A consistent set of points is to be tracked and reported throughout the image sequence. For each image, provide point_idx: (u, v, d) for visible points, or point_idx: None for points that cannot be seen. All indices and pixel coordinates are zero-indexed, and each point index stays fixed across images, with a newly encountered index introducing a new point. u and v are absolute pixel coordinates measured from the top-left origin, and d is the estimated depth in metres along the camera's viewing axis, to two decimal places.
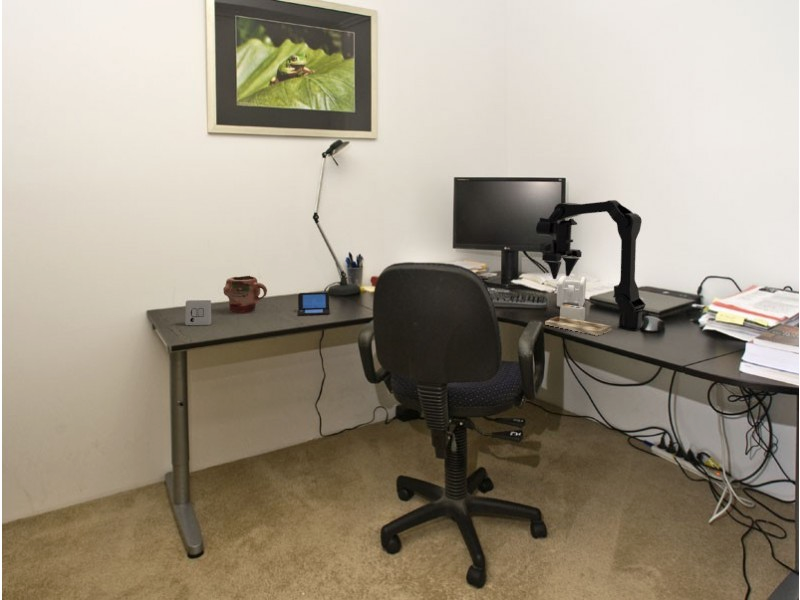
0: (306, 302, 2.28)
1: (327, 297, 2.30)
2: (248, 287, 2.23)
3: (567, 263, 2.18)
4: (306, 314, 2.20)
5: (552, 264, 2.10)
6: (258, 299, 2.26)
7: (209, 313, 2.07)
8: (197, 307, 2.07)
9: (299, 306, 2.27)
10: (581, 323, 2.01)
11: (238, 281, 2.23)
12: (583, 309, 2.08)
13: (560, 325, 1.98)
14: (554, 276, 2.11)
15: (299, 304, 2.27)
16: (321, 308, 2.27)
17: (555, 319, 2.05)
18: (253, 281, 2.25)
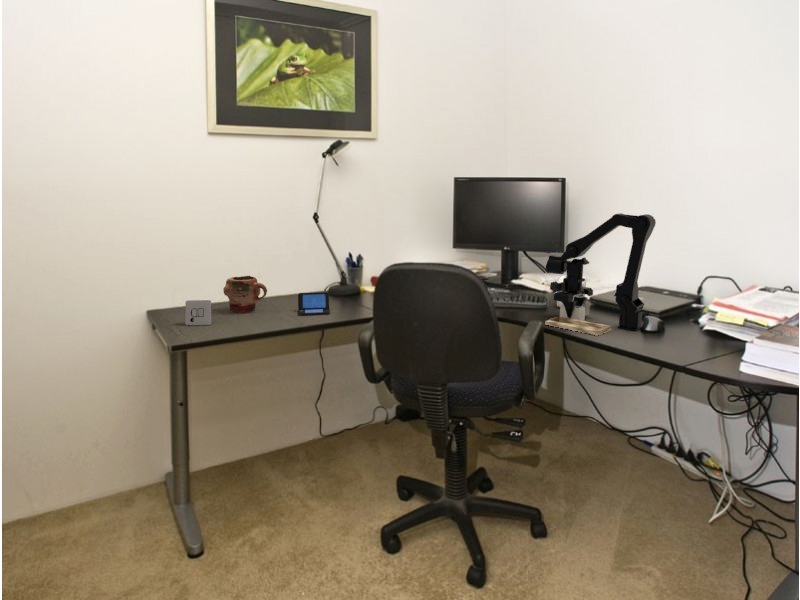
0: (306, 302, 2.28)
1: (327, 296, 2.30)
2: (248, 287, 2.23)
3: None
4: (306, 314, 2.21)
5: (567, 303, 2.07)
6: (258, 299, 2.26)
7: (209, 313, 2.07)
8: (197, 307, 2.07)
9: (299, 306, 2.27)
10: (581, 323, 2.01)
11: (238, 281, 2.23)
12: (583, 309, 2.07)
13: (560, 325, 1.98)
14: (569, 315, 2.08)
15: (299, 304, 2.27)
16: (321, 308, 2.28)
17: (555, 319, 2.05)
18: (253, 281, 2.25)
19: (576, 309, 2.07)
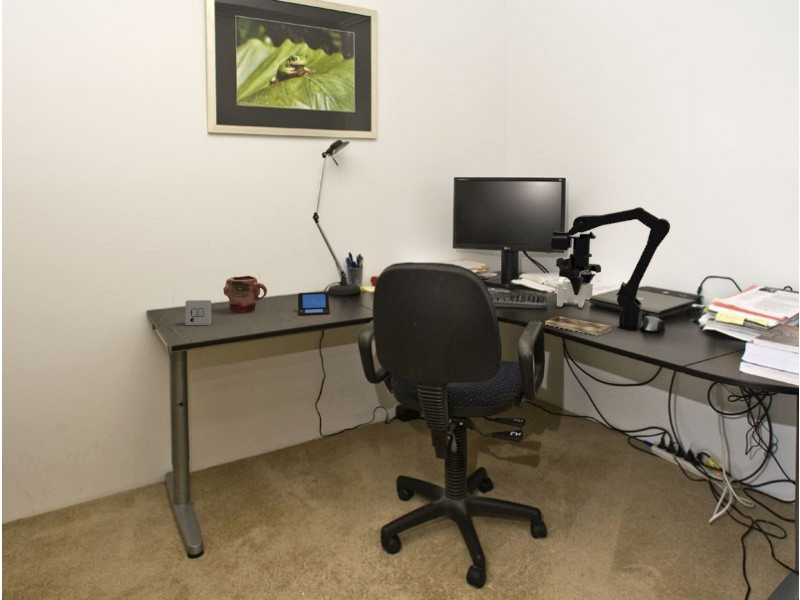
0: (306, 302, 2.28)
1: (327, 296, 2.30)
2: (248, 287, 2.23)
3: (582, 279, 2.04)
4: (306, 314, 2.21)
5: (573, 279, 2.00)
6: (258, 299, 2.26)
7: (209, 313, 2.07)
8: (197, 307, 2.07)
9: (299, 306, 2.27)
10: (581, 323, 2.01)
11: (238, 281, 2.23)
12: (590, 285, 2.00)
13: (560, 325, 1.98)
14: (575, 292, 2.01)
15: (299, 304, 2.27)
16: (321, 308, 2.28)
17: (555, 319, 2.05)
18: (253, 281, 2.25)
19: (583, 286, 1.99)
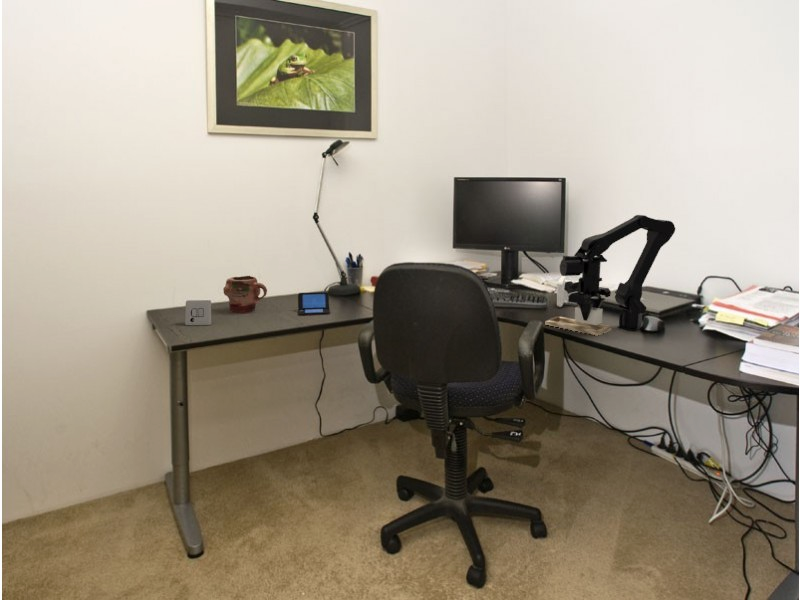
0: (306, 302, 2.28)
1: (327, 296, 2.30)
2: (248, 287, 2.23)
3: None
4: (306, 314, 2.21)
5: (583, 304, 1.92)
6: (258, 299, 2.26)
7: (209, 313, 2.07)
8: (197, 307, 2.07)
9: (299, 306, 2.27)
10: (581, 323, 2.01)
11: (238, 281, 2.23)
12: (600, 311, 1.92)
13: (560, 325, 1.98)
14: (585, 317, 1.93)
15: (299, 304, 2.28)
16: (321, 308, 2.28)
17: (555, 319, 2.05)
18: (253, 281, 2.25)
19: (593, 311, 1.91)
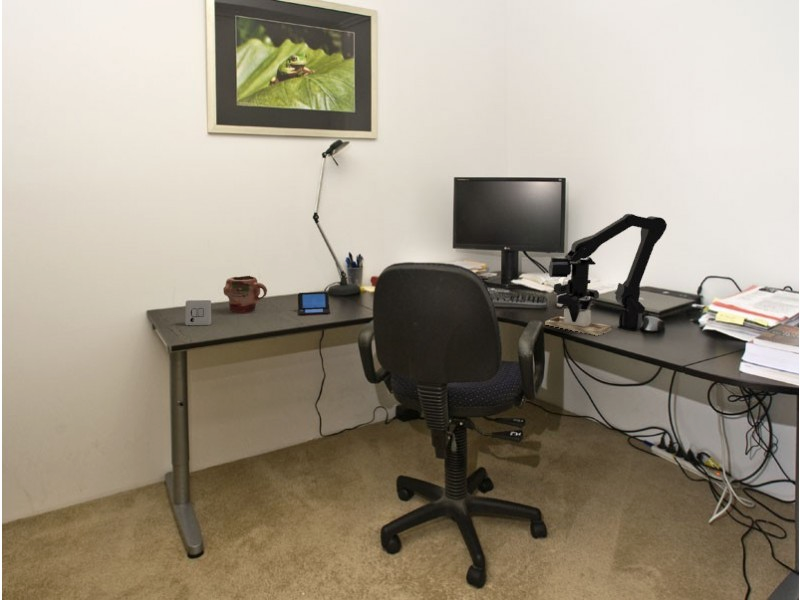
0: (306, 302, 2.28)
1: (327, 296, 2.30)
2: (248, 287, 2.23)
3: None
4: (307, 314, 2.21)
5: (571, 306, 1.95)
6: (258, 299, 2.26)
7: (209, 313, 2.07)
8: (197, 307, 2.07)
9: (299, 306, 2.27)
10: None
11: (238, 281, 2.23)
12: (588, 312, 1.95)
13: (560, 325, 1.98)
14: (573, 319, 1.96)
15: (299, 304, 2.28)
16: (321, 308, 2.28)
17: (555, 319, 2.05)
18: (253, 281, 2.25)
19: (581, 313, 1.94)
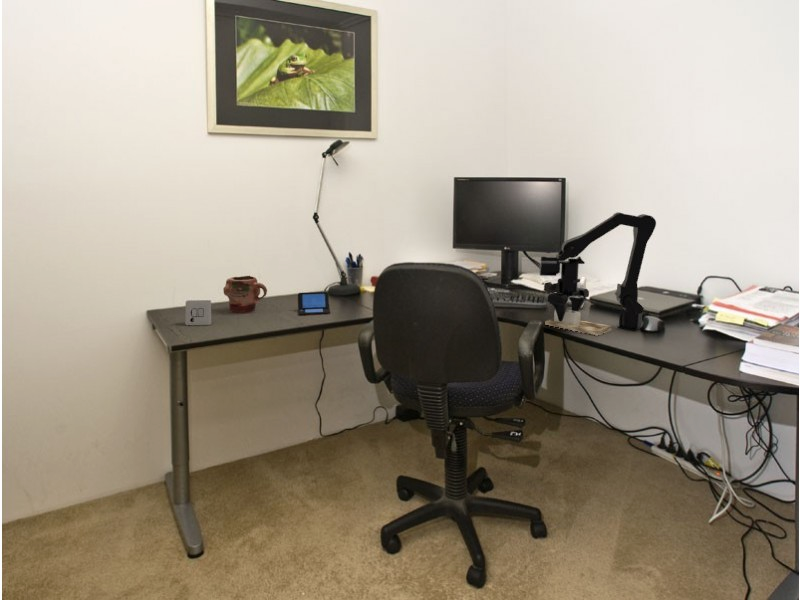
0: (306, 302, 2.29)
1: (327, 296, 2.31)
2: (248, 287, 2.23)
3: (573, 303, 2.03)
4: (307, 313, 2.21)
5: (558, 306, 1.96)
6: (258, 299, 2.26)
7: (209, 313, 2.07)
8: (197, 307, 2.07)
9: (299, 306, 2.27)
10: (581, 323, 2.01)
11: (238, 281, 2.23)
12: (578, 314, 1.98)
13: (560, 325, 1.98)
14: (560, 318, 1.97)
15: (299, 304, 2.28)
16: (321, 307, 2.28)
17: None
18: (253, 281, 2.25)
19: (571, 314, 1.97)
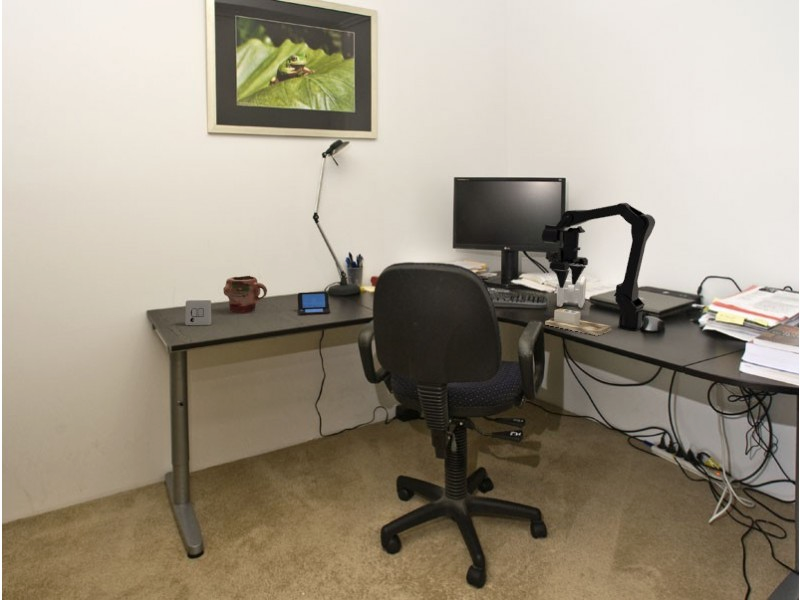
0: (306, 302, 2.29)
1: (326, 296, 2.31)
2: (248, 287, 2.23)
3: (573, 271, 2.13)
4: (307, 313, 2.21)
5: (559, 272, 2.05)
6: (258, 299, 2.26)
7: (209, 313, 2.07)
8: (197, 307, 2.07)
9: (299, 306, 2.28)
10: (581, 323, 2.01)
11: (238, 281, 2.23)
12: (578, 314, 1.98)
13: (560, 325, 1.98)
14: (561, 285, 2.07)
15: (299, 304, 2.28)
16: (321, 307, 2.29)
17: None
18: (253, 281, 2.25)
19: (571, 314, 1.97)
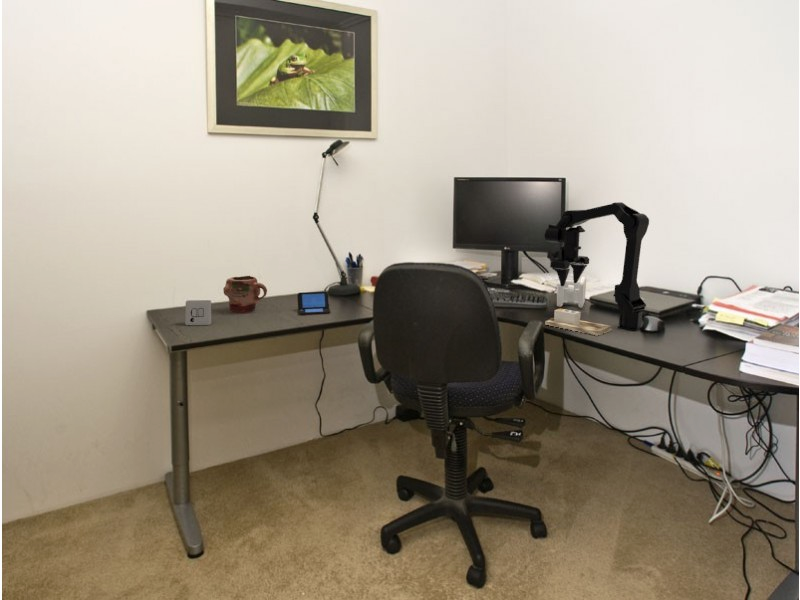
0: (306, 301, 2.29)
1: (326, 296, 2.31)
2: (248, 287, 2.23)
3: (575, 270, 2.18)
4: (307, 313, 2.22)
5: (560, 271, 2.10)
6: (258, 299, 2.26)
7: (209, 313, 2.07)
8: (197, 307, 2.07)
9: (299, 305, 2.28)
10: (581, 323, 2.01)
11: (238, 281, 2.23)
12: (578, 314, 1.98)
13: (560, 325, 1.98)
14: (562, 283, 2.11)
15: (299, 303, 2.28)
16: (321, 307, 2.29)
17: None
18: (253, 281, 2.25)
19: (571, 314, 1.97)
